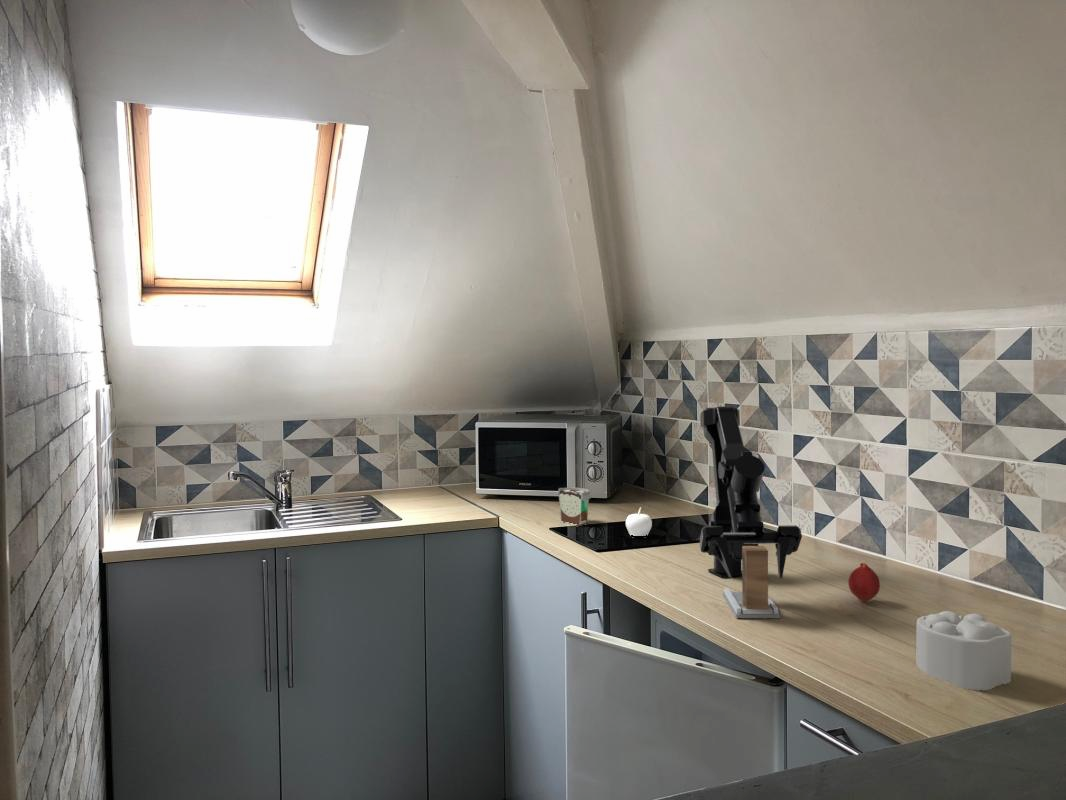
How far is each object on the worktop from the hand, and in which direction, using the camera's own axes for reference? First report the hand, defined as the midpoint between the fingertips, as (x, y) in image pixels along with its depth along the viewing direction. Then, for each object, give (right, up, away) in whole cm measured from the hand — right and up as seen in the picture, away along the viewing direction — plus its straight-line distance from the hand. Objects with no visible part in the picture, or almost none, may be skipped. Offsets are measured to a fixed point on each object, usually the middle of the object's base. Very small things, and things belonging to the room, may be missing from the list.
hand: (756, 577), depth 160 cm
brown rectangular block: (0, -7, +2) cm, 8 cm away
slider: (0, -7, +7) cm, 10 cm away
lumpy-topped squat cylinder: (+23, -9, -29) cm, 38 cm away
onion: (+24, -7, +9) cm, 26 cm away
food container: (-28, -3, +92) cm, 96 cm away
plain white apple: (-13, -4, +72) cm, 73 cm away
